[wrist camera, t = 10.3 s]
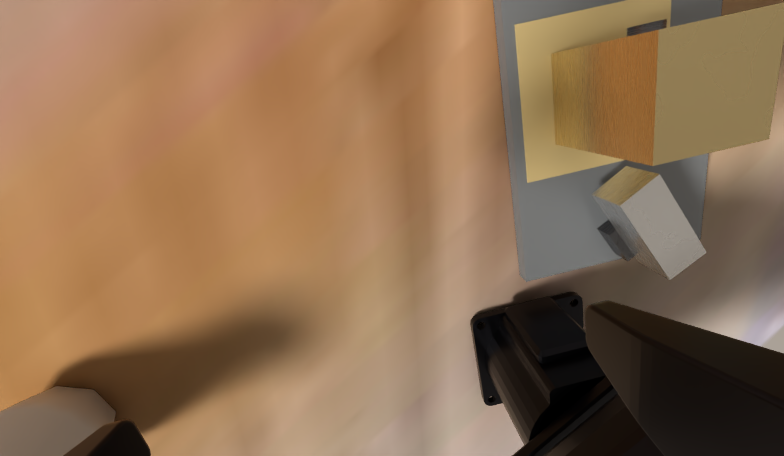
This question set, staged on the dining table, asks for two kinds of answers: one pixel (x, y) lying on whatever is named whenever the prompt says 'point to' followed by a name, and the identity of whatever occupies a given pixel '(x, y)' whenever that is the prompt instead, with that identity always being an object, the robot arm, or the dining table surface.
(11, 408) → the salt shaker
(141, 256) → the dining table surface
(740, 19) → the block
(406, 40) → the dining table surface
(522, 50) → the board
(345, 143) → the dining table surface
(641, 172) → the wood-capped gray bar
